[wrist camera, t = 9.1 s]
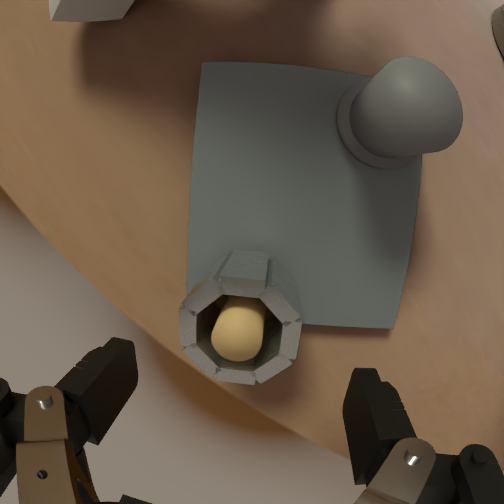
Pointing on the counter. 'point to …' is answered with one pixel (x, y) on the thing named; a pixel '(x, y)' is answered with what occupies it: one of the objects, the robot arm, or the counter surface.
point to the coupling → (247, 285)
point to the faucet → (88, 10)
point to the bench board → (313, 184)
